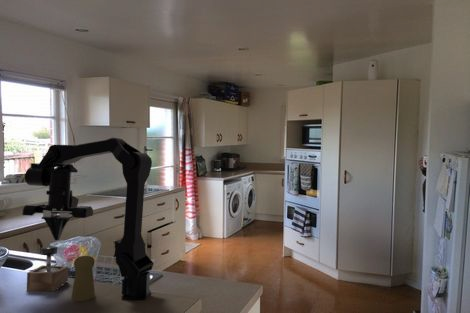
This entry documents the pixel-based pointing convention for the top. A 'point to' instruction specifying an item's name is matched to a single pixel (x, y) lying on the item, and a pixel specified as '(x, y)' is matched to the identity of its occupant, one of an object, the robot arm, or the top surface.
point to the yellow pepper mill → (83, 279)
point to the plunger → (49, 258)
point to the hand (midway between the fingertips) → (57, 239)
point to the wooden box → (46, 279)
